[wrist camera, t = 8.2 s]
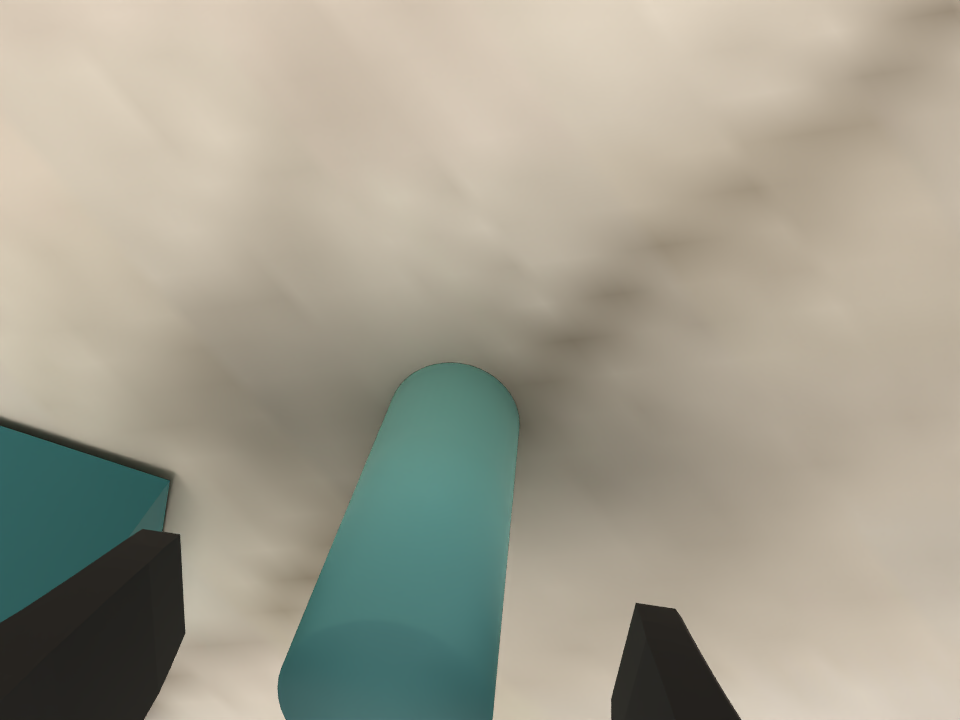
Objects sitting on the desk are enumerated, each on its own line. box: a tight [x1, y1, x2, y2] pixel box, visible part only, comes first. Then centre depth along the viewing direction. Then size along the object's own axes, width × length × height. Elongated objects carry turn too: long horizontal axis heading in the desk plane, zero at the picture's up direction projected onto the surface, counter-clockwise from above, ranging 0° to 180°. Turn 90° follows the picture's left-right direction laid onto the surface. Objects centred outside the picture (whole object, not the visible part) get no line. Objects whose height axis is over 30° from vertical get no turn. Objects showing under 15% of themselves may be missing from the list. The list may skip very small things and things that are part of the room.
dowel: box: [278, 363, 520, 720], centre depth 15 cm, size 3×3×8 cm
